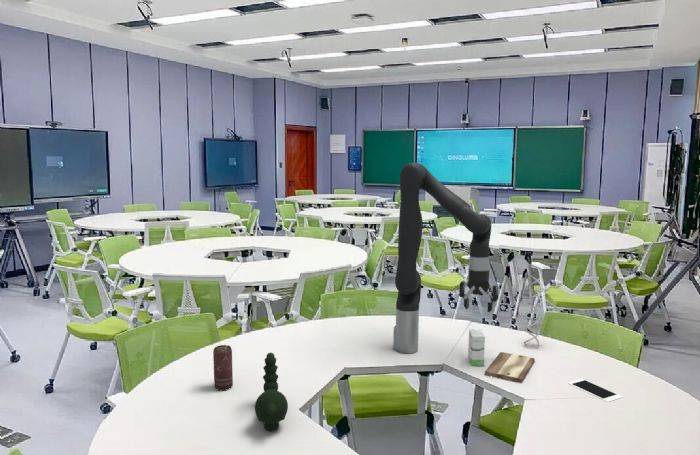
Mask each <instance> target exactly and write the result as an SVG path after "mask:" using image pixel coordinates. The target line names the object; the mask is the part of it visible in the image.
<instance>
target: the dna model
mask: <svg viewBox="0 0 700 455" xmlns="http://www.w3.org/2000/svg"><path fill="white" fill-rule="evenodd" d="M529 276H530V277H531V278H532V279H534V280H535V281H533V282H531V283H530V284H528V285H527V290H529V291H530V292H531V294H534V295H532V296H531V297H529V298H526V300H525V301H526V303H527V304H528V305H529V306H530V307H532V308H533V310H531V311H529V312H525V317H526V318H527V319H528V320H529V321H531V322H533V323H532V324H531V325H528V326H526V327H525V328H524V330H525V332H527V333H528V334H529V335H530V336H532V337H531V338H530V339H527V340H525V341H524V342H523V344H524V345H525V346H526V345H527V343H528V342H531V341H532V340H534V339H535V340H536V342H537V346H536V349H539V347H540V341H539V339H538V336H539V335H540V333H541V328H540V325H539V324H538V323H539V322H540V321H541V318H542V314H541V312H540V311H539V309H540V308H541V306H542V304H543V302H542V298H541V297H540V296H539V295H540V294H541V293H542V292H543V290H544V289H543V288H544V287H543V284H542V283H541V282H540V280H542V277H539V278H538V279H537V278H536V277H534V276H532V275H531V274H529ZM536 283H538V284H539V285H540V291H539V290H536V289H531V288H530V286H532V285H534V284H536ZM534 291H535V292H534ZM537 292H538V293H537ZM536 297H537V298H538V299H539V301H540V302H539V305H537V304H535V305H534V304H533V303H530V302H529V301H530V300H532V299H534V298H536ZM535 306H536V307H535ZM535 311H536V312H537V313H538V315H539V317H538V319H537V318H533V317H530V316H528V315H529V314H531V313H534V312H535ZM533 326H537V328H538V332H537V333H534V332H531V331H529V330H528V329H529V328H532V327H533Z"/></svg>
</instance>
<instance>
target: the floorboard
mask: <svg viewBox="0 0 700 455" xmlns="http://www.w3.org/2000/svg"><path fill="white" fill-rule="evenodd" d="M535 360H536V359H535V358H534V357H531V356H527V355H521V354H516V353H509V352H508V353H507V352H502V351H500V352H499V353H498V354H497V356H495V358H494V359H493V360H492V362H491V363H490V364H489V365H488V367H487V368H486V369H485V370H484V376H486V377H490V376H492V377H491V378H495V377H497V378H496V379H499V378H501V379H500V380H504V379H505V381H509V380H510V381H509V382H514V383H518V384H522V383H523V382H524V381H525V379H526V377H527V375H528V373H529V371H530V370H531V369H532V367H533V366H534V364H535Z"/></svg>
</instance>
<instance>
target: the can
mask: <svg viewBox="0 0 700 455" xmlns="http://www.w3.org/2000/svg"><path fill="white" fill-rule="evenodd" d="M212 355H213V357H212V358H213V360H212V361H213V386H214V389H215V388H216V389H218V390H217V391H219V390H225V391H227V390H226V389H229V388H230V389H232V387H233V386H234V385H233V384H234V382H233V381H234V380H233V377H234V376H233V375H234V374H233V349H232V347H231V345H228V344H226V345H225V344H222V345H216V346H215V347H214V348H213V351H212ZM230 389H229V390H230Z"/></svg>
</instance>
